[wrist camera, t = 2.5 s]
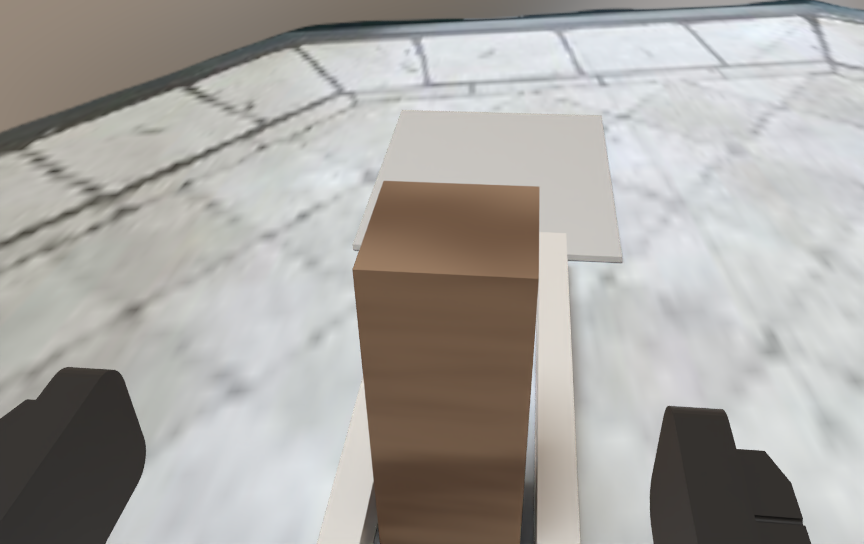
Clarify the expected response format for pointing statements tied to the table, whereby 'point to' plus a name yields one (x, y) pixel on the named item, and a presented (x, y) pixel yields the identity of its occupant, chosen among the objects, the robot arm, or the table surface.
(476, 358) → the walnut block
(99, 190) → the table surface
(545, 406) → the chute
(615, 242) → the mat
